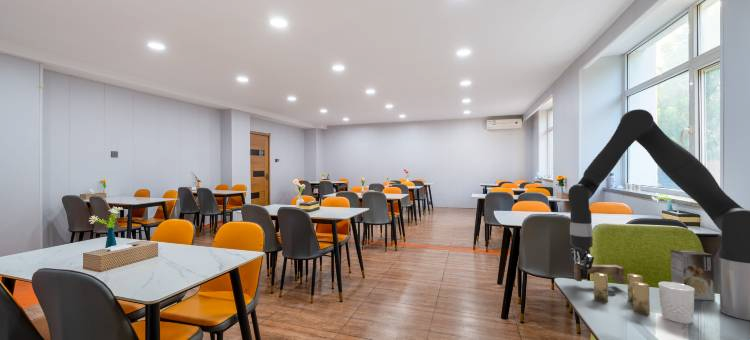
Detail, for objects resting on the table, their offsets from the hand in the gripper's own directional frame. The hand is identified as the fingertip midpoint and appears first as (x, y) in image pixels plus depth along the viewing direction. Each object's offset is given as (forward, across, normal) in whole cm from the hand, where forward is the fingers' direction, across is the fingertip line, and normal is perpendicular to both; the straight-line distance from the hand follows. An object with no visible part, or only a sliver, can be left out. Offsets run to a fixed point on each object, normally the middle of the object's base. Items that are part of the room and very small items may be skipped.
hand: (581, 277), depth 123 cm
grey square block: (+4, -7, -5) cm, 9 cm away
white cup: (+4, -27, -14) cm, 30 cm away
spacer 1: (+3, -14, +1) cm, 15 cm away
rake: (+1, 0, -6) cm, 6 cm away
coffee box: (+3, -7, -34) cm, 35 cm away
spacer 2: (+3, -14, -10) cm, 18 cm away
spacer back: (+3, -24, -6) cm, 25 cm away
